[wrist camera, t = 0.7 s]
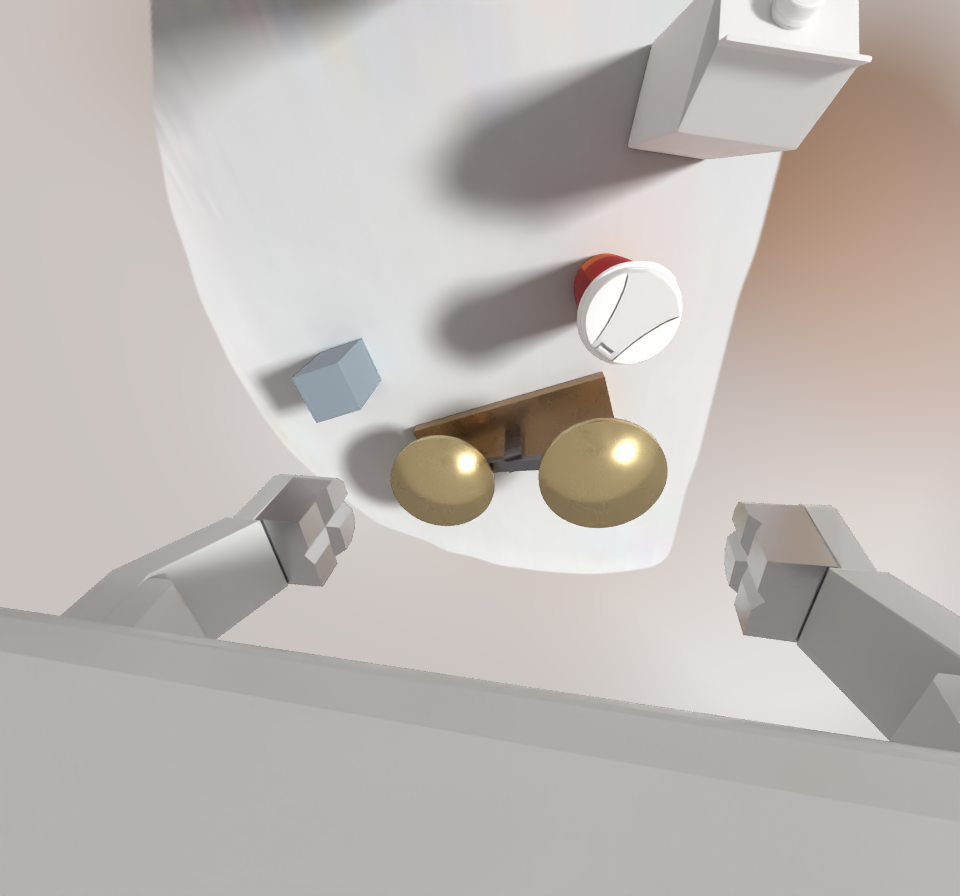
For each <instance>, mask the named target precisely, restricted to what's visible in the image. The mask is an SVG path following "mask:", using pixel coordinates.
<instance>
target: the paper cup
mask: <svg viewBox="0 0 960 896" xmlns="http://www.w3.org/2000/svg"><path fill="white" fill-rule="evenodd" d="M574 293H575V299H576V304H577V309H578V312H577V327H578V332H579V335H580V338H581V340H582V342H583V344H584V345H585V347H586V348H587V349H588V350H589V351H590V352H591V353H592V354H593V355H594V356H596V357H597V358H599V359H601V360H603V361H605V362H608V363H612V364H620V365H624V364H633V363H638V362H641V361H644V360H647V359H649V358H651V357H653V356H654V355H656V354H657V353H659V352H660V351H661V350H662V349H663V348H664V347H666V345H667V344H668V343H669V342H670V341H671V339H672V337H673V336H674V334H675V332H676V330H677V328H678V325H679V322H680V319H681V314H682V298H681V293H680V290H679V288H678V285H677V283H676V280H675V277H674V275H673V274H672V273H671V272H670V271H669V270H668V269H666V268H665V267H663V266H662V265H660V264H658V263H655V262H643V261H631V260H629V259H626V258H623V257H621V256H617V255H614V254H599V255H596V256H594V257H592V258H590V259H588V260H587V261H586V262H585V263H584V264H583V265H582V266H581V267H580V269H579V270H578V272H577V275H576V277H575V282H574Z"/></svg>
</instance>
